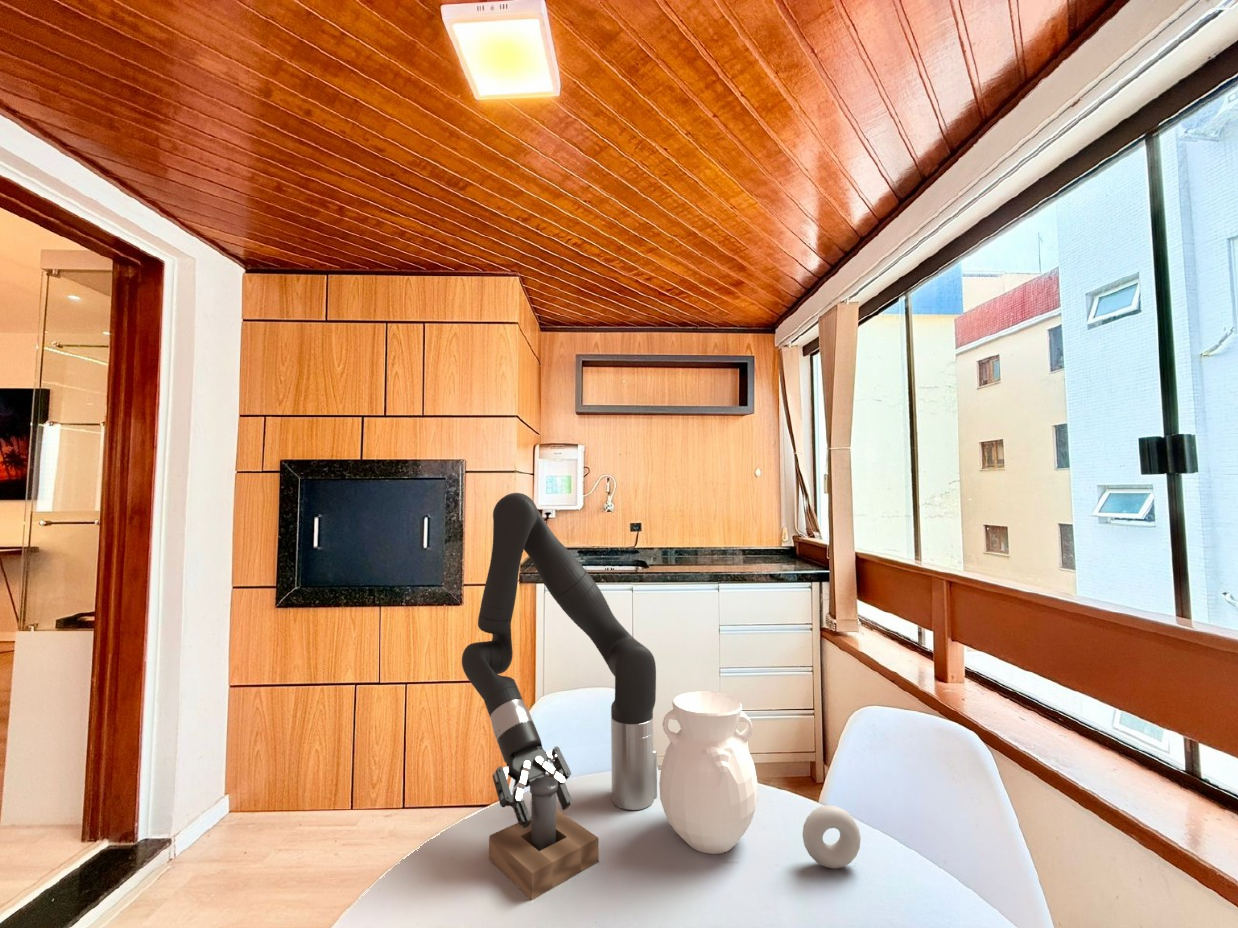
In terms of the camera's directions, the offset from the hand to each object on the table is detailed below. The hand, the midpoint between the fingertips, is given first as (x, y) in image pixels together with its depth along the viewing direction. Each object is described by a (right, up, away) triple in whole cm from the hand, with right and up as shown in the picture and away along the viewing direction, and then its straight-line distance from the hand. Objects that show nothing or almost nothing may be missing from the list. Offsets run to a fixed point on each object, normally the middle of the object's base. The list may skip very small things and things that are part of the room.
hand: (548, 815), depth 94 cm
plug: (-1, -8, 0) cm, 8 cm away
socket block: (-1, -8, 0) cm, 8 cm away
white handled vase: (+30, -9, +7) cm, 32 cm away
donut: (+50, -8, -2) cm, 51 cm away
